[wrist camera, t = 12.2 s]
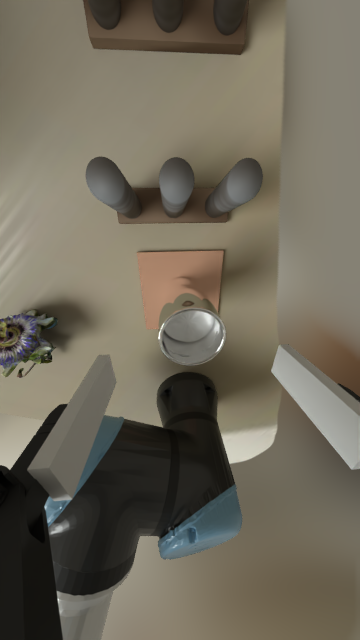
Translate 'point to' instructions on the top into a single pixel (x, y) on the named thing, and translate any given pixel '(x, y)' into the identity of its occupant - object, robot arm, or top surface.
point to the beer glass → (189, 325)
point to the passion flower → (24, 340)
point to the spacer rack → (176, 174)
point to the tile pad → (177, 264)
